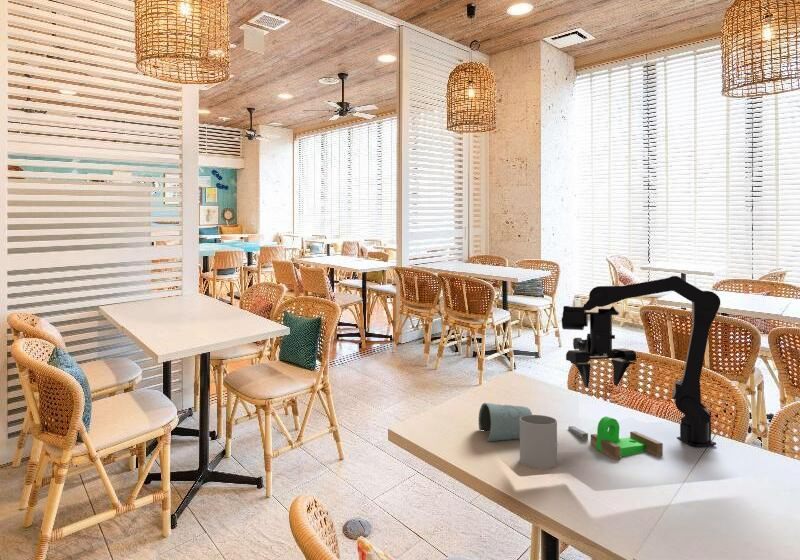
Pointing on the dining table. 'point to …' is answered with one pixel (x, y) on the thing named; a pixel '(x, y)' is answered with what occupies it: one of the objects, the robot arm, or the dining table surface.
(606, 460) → the dining table surface
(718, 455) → the dining table surface
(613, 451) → the beam rails
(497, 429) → the teal tapered tumbler
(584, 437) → the u-shaped bracket
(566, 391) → the dining table surface
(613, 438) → the mechanical part
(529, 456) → the cup
